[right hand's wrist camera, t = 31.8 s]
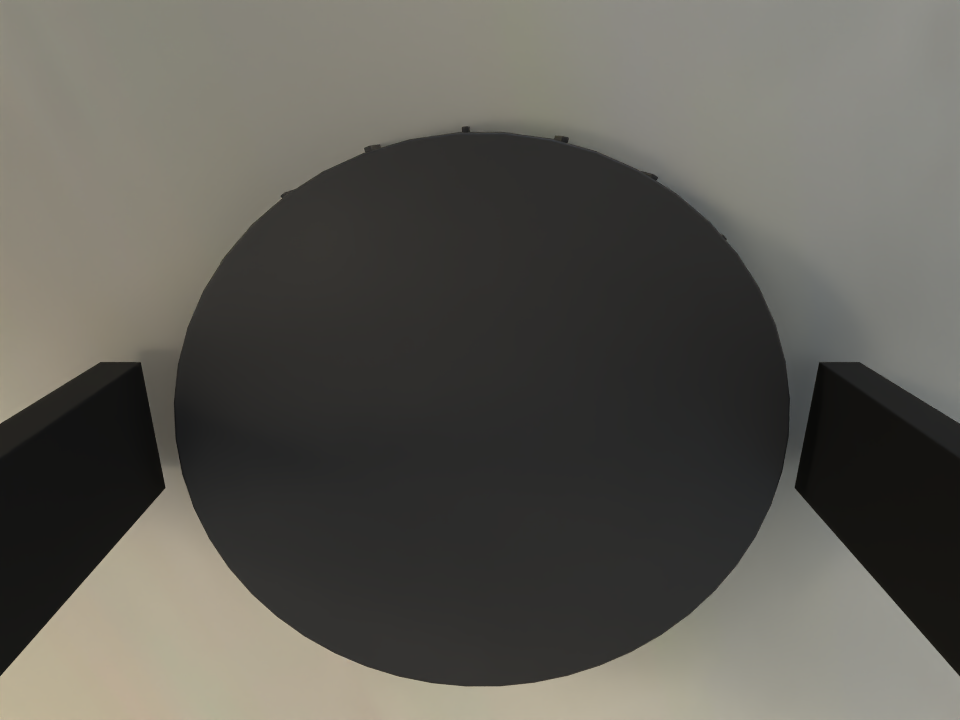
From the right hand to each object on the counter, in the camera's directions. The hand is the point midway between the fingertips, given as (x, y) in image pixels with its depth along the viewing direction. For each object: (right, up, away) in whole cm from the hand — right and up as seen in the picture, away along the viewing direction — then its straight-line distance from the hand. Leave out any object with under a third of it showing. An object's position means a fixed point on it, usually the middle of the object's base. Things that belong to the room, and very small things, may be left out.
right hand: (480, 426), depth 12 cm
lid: (0, 0, 0) cm, 1 cm away
